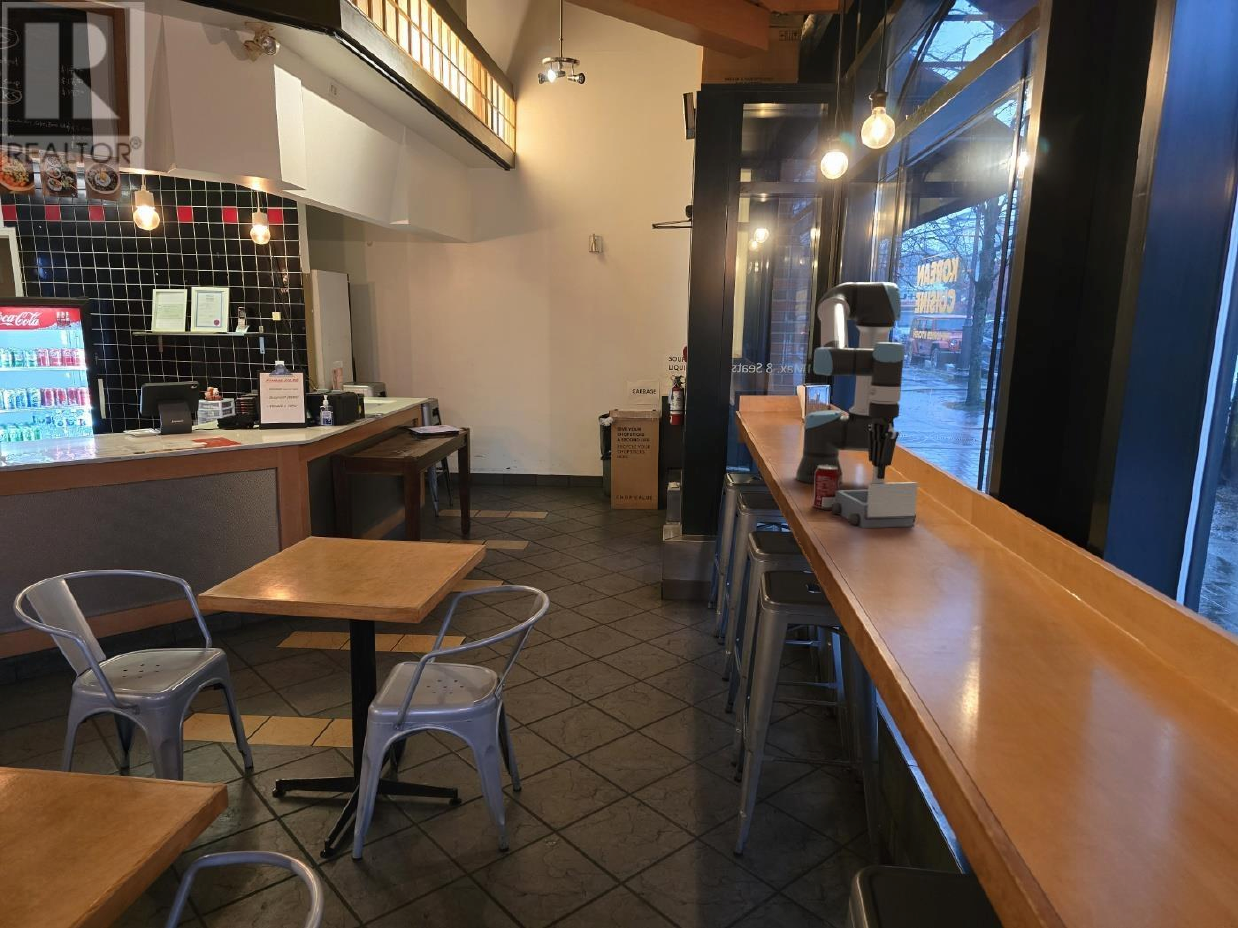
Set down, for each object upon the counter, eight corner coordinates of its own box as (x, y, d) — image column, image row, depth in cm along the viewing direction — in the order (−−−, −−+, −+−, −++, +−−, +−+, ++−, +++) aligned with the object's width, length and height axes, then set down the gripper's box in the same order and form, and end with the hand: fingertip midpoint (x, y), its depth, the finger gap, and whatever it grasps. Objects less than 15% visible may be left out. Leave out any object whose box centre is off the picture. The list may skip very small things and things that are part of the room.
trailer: (828, 511, 208) (830, 490, 207) (885, 509, 211) (887, 489, 210) (856, 528, 192) (858, 505, 191) (918, 525, 195) (920, 503, 193)
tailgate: (864, 519, 191) (867, 483, 189) (913, 517, 193) (916, 481, 192) (866, 520, 190) (869, 484, 188) (915, 519, 192) (919, 482, 190)
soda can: (837, 511, 208) (840, 469, 206) (813, 509, 210) (815, 468, 207) (835, 505, 215) (838, 465, 213) (812, 504, 216) (814, 464, 214)
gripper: (859, 399, 199) (853, 484, 204) (883, 405, 187) (876, 495, 191) (885, 399, 201) (878, 484, 205) (911, 404, 188) (903, 495, 192)
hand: (877, 489), depth 198 cm, fingers closed
